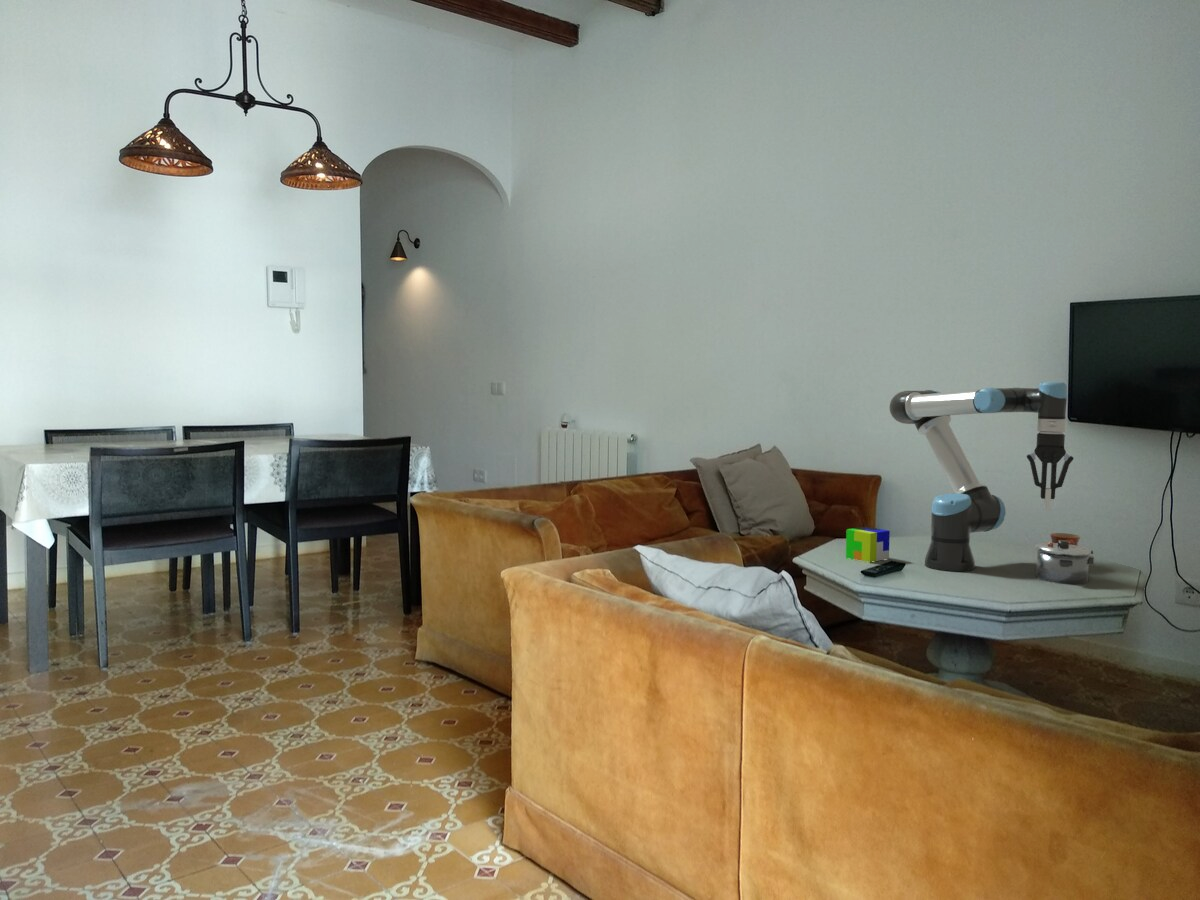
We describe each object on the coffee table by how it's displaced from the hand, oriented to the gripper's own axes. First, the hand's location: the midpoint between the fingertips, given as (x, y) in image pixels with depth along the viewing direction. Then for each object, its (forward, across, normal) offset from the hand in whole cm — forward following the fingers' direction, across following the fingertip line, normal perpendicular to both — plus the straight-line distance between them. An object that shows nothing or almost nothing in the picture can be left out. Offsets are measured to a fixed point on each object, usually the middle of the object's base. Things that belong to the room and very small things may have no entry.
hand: (1047, 509), depth 266 cm
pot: (+21, +5, 0) cm, 22 cm away
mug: (+21, +8, +19) cm, 29 cm away
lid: (+12, +5, 0) cm, 13 cm away
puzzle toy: (+22, -53, +9) cm, 58 cm away
